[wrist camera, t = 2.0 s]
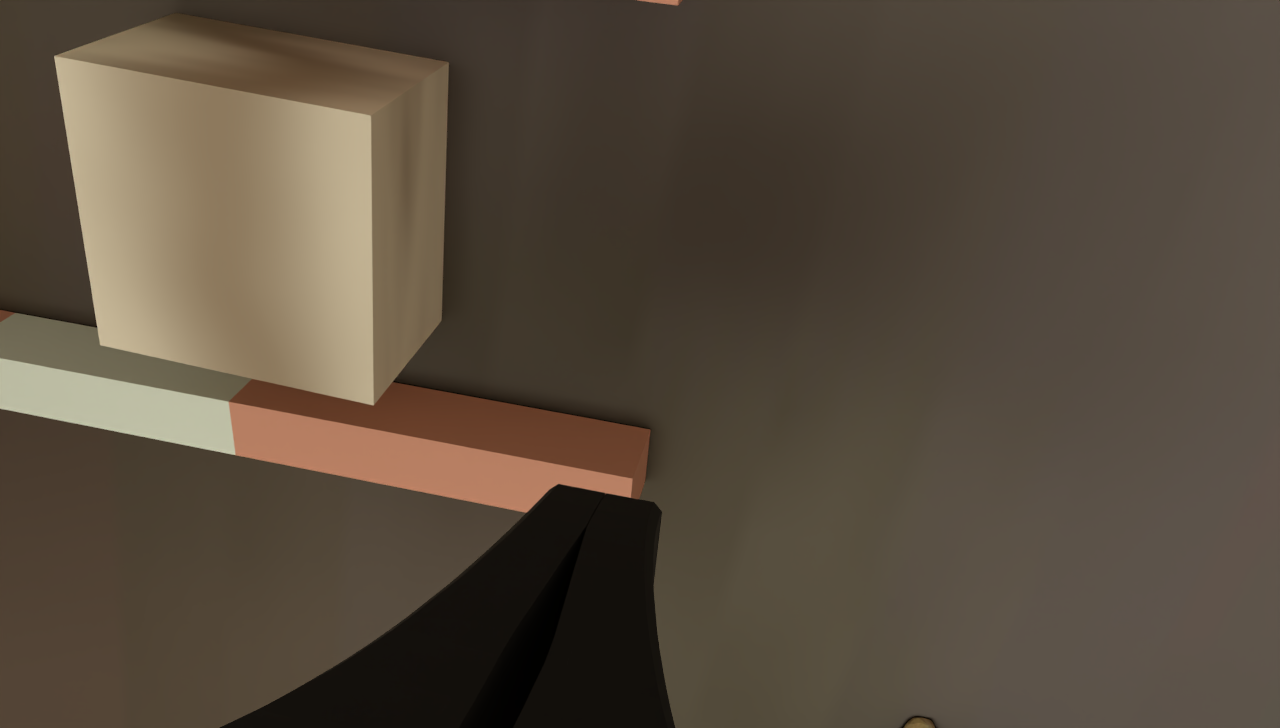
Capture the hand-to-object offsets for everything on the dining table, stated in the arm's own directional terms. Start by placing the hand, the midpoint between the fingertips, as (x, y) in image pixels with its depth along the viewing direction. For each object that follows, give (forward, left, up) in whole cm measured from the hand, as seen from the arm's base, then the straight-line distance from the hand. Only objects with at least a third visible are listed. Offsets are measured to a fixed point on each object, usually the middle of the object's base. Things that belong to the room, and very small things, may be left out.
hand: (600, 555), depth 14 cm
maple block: (-9, 0, -11) cm, 14 cm away
